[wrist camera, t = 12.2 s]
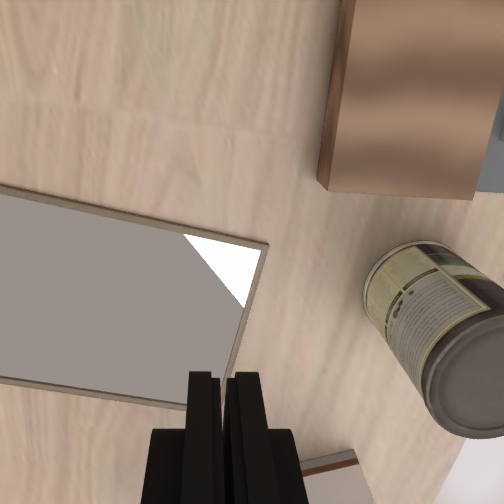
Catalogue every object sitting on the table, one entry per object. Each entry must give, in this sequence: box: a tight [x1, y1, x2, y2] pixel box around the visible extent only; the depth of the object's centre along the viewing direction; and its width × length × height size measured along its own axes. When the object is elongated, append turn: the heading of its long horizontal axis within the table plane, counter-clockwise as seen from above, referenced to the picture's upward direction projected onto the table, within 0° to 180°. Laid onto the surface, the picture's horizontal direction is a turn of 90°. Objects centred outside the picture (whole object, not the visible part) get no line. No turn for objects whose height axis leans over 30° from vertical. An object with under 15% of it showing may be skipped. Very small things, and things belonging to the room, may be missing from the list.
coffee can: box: [363, 241, 504, 439], centre depth 37 cm, size 10×10×14 cm
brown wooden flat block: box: [317, 0, 504, 200], centre depth 35 cm, size 18×12×4 cm, turn 175°
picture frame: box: [0, 184, 269, 411], centre depth 41 cm, size 19×1×28 cm
